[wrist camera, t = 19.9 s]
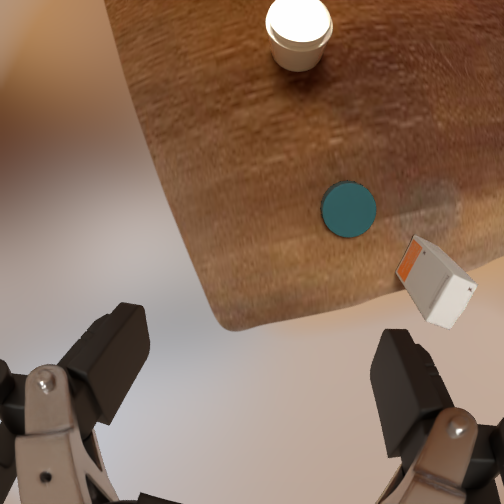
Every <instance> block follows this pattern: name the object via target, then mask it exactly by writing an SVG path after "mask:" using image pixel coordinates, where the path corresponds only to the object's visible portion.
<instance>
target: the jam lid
mask: <svg viewBox="0 0 504 504" xmlns="http://www.w3.org/2000/svg"><path fill="white" fill-rule="evenodd" d="M320 209H321V212H322V214H321V215H322V218H323V219H324V222H325V224H326V225H327V226H328V228H329V229H330V230H331V231H332V232H333V233H335V234H337V235H339V236H342V237H355V236H359V235H361V234H363V233H364V232H366V231H367V230H368V229H369V228H370V226H371V225H372V223H373V222H374V219H375V216H376V203H375V200H374V198H373V196H372V194H371V193H370V192H369V190H368V189H366V188H365V187H363V185H361V184H358V183H356V182H355V181H348V180H347V181H342V182H341V181H340V182H338V183H336V184H333V186H331V187H330V188H328V190H327V191H326V193H325V194H324V196H323V199H322V201H321V207H320Z"/></svg>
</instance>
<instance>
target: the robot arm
mask: <svg viewBox="0 0 504 504" xmlns="http://www.w3.org/2000/svg"><path fill="white" fill-rule="evenodd" d="M149 351H150V339H149V333H148V327H147V322H146V315H145V310H144V308H143V306H141V305H136V304H130V303H124V302H121V303H120V304H119V305H118V306H117V307H116V308H115V309H114V310H113V312H112V313H111V314H106V315H104V316H102V317H101V318H99V319H97V320H96V321H94V323H93V324H92V325H91V326H90V327H89V328H88V329H87V332H85V333H84V334H83V335H82V336H81V339H79V340H78V341H77V342H76V343H75V344H74V345H73V346H72V347H71V349H70V350H69V351H68V352H67V353H66V355H65V356H64V357H63V358H62V359H61V360H60V362H59V363H58V364H57V365H53V364H47V365H42V366H39V367H37V368H35V369H34V370H33V371H31V373H30V374H29V375H21V374H13V373H11V371H10V369H9V367H8V366H7V364H6V362H5V361H3V360H1V359H0V420H1V421H2V422H1V424H0V504H3V503H4V501H5V499H6V497H7V495H8V492H9V491H10V489H11V487H12V485H13V482H14V481H15V479H16V477H17V479H18V487H19V494H20V501H21V504H181V503H177V502H173V501H169V500H165V499H162V498H158V497H154V496H151V495H148V494H144V493H140V495H139V497H138V500H137V501H136V500H121V501H120V500H119V498H118V496H117V494H116V492H115V490H114V488H113V486H112V484H111V483H110V480H109V478H108V476H107V472H106V469H105V466H104V463H103V459H102V456H101V452H100V449H99V445H98V441H97V438H96V433H95V430H94V429H93V428H94V426H95V424H96V422H100V423H103V424H106V425H110V424H111V422H112V420H113V418H114V416H115V414H116V413H117V411H118V409H119V407H120V405H121V404H122V402H123V400H124V398H125V396H126V394H127V393H128V391H129V389H130V387H131V386H132V384H133V382H134V380H135V379H136V377H137V375H138V373H139V372H140V370H141V368H142V366H143V365H144V363H145V361H146V359H147V357H148V355H149ZM434 365H435V364H434V362H433V360H432V358H431V356H430V354H429V353H428V352H427V351H426V350H425V349H424V348H423V347H422V346H421V345H420V344H415V343H414V341H413V339H412V337H411V336H410V333H409V332H408V330H406V329H385V330H384V331H383V333H382V336H381V339H380V342H379V345H378V348H377V351H376V353H375V356H374V359H373V361H372V365H371V369H370V380H371V385H372V388H373V392H374V397H375V401H376V405H377V409H378V413H379V417H380V421H381V426H382V431H383V436H384V440H385V445H386V450H387V455H388V458H392V457H400V456H401V460H402V463H401V465H400V466H399V467H398V469H397V471H396V472H395V474H394V476H393V477H392V479H391V480H390V482H389V484H388V485H387V487H386V488H385V490H384V491H383V493H382V494H381V496H380V497H379V499H378V500H377V502H376V503H375V504H501V502H500V499H499V495H498V490H497V486H496V483H495V478H496V477H497V476H498V475H499V474H500V475H501V478H502V482H503V485H504V418H503V419H502V420H501V421H500V422H499V424H498V425H497V426H490V425H481V424H477V423H476V420H475V418H474V417H473V416H472V415H471V414H470V413H469V412H467V411H466V410H464V409H461V408H457V407H455V406H454V404H453V402H452V400H451V397H450V395H449V393H448V391H447V389H446V387H445V385H444V382H443V380H442V378H441V376H440V375H439V372H438V370H437V368H436V367H435V366H434Z"/></svg>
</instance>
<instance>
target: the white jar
mask: <svg viewBox="0 0 504 504" xmlns="http://www.w3.org/2000/svg"><path fill="white" fill-rule="evenodd" d="M266 29H267V34H268V39H269V43H270V48H271V53H272V56H273V58H274V60H275V61H276V62H277V63H278V64H279V65H280V66H281V67H283V68H285V69H287V70H290V71H295V72H302V71H307V70H309V69H311V68H313V67H314V66H316V65H317V64H318V62H319V61H320V59H321V57H322V55H323V52H324V50H325V48H326V46H327V43H328V41H329V39H330V37H331V34H332V30H333V24H332V20H331V17H330V14H329V11H328V9H327V8H326V7H325V5H324V4H323V3H322V2H320V1H319V0H276V1H275V2H274V3H273V4H272V5H271V7H270V9H269V11H268V14H267V16H266Z"/></svg>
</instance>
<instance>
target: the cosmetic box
mask: <svg viewBox="0 0 504 504" xmlns="http://www.w3.org/2000/svg"><path fill="white" fill-rule="evenodd" d="M395 273H396V274H397V276H398V277H399V279H400V281H401V282H402V284H403V285H404V287H405V288H406V290H407V291H408V293H409V294H410V296H411V298H412V299H413V301H414V303H415V304H416V306H417V307H418V309H419V311H420V313H421V314H422V316H423V318H424V320H425V321H426V322H429V323H432V324H434V325H437V326H440V327H442V328H445V329H448V330H450V329H451V328H452V326H453V325H454V323H455V322H456V321H457V319H458V317H459V316H460V314H462V312H463V311H464V309H465V308H466V306H467V304H468V302H469V300H470V298H471V296H472V295H473V293H474V291H475V290H476V288H477V286H478V284H477V283H476V282H475V281H473V279H471V277H470V276H469V275H468V274H467V273H466V272H465V271H464V270H463V269H462V268H461V267H460V266H458V265H457V264H456V263H455V262H454V261H453V260H452V259H451V258H450V257H449V256H448V255H447V254H446V253H445V252H443V251H442V250H441V249H440V248H439V247H438V246H437V245H435V244H433V243H431V242H429V241H427V240H425V239H423V238H421V237H418V236H416V235H414V236H413V238H412V241H411V243H410V245H409V247H408V249H407V251H406V253H405V255H404V257H403V259H402V260H401V262H400V264H399V266H398V268H397V270H396V272H395Z"/></svg>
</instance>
